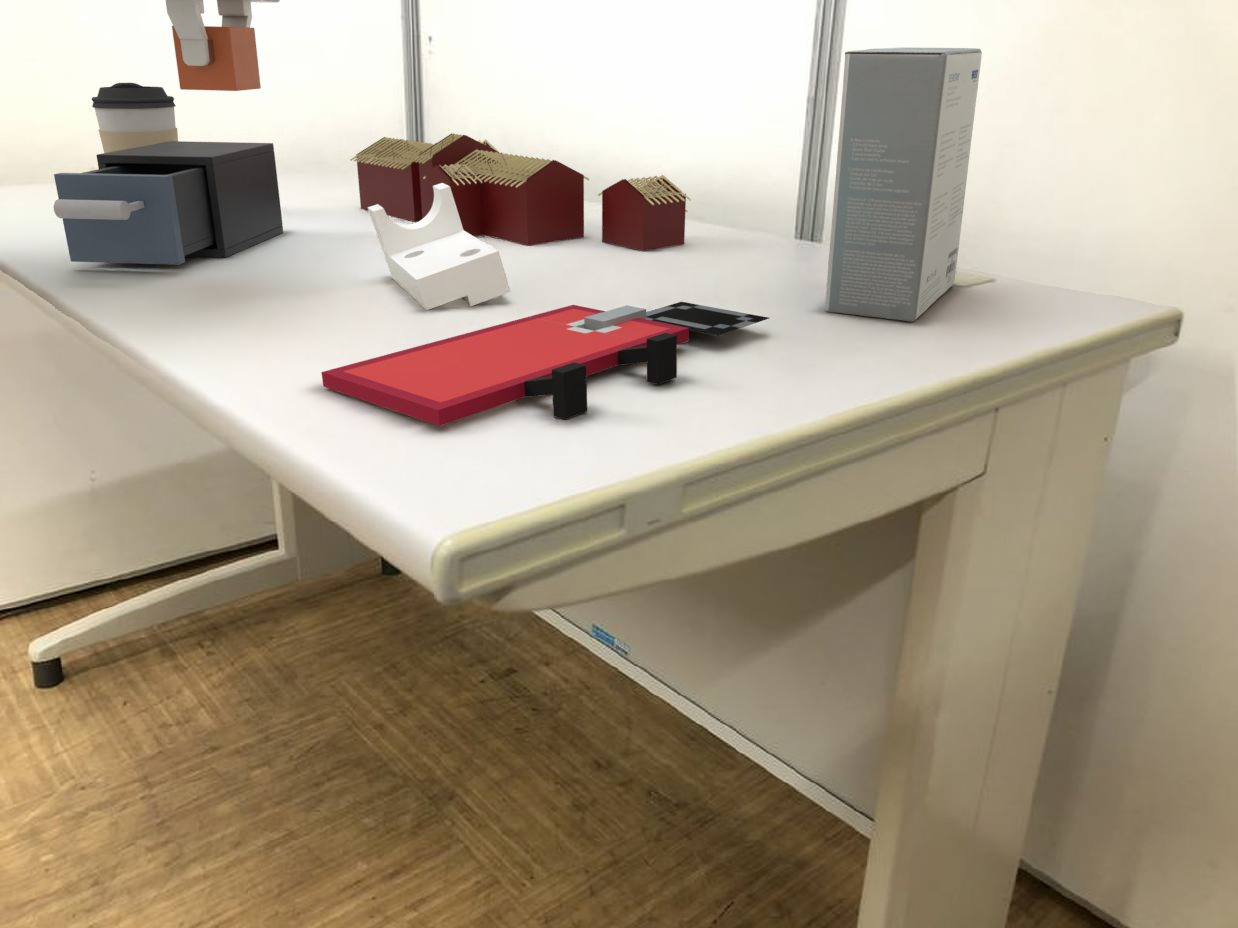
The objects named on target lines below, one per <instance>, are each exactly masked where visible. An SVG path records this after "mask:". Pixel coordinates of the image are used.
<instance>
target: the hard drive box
mask: <svg viewBox="0 0 1238 928" xmlns="http://www.w3.org/2000/svg"><path fill="white" fill-rule="evenodd" d="M982 54H983V52H982V49H981V48H975V47H972V48H971V47H970V48H969V47H905V46H904V47H883V48H867V49H858V50H847V51H845V52H844V64H843V65H844V67H843V78H842V79H843V80H842V93H841V106H840V119H839V130H838V141H837V142H838V143H837V153H836V154H837V155H836V168H835V179H834V180H835V181H834V192H833V193H834V194H833V205H832V206H833V207H832V216H831V230H830V241H829V253H828V254H829V255H828V266H827V276H826V277H827V278H826V291H825V304H824V311H825V312H828V313H836V314H844V315H853V316H854V315H855V316H863V317H870V318H880V319H888V320H897V321H902V322H903V321H904V322H915V321H916V320H918V318H919V317H921V315H923V314H924V313H925V312H926V311H927V310H928V309H929V307H931V305H933V304H934V303H935V302H936V301H937V300H938V299H939V298H941V296H943V295H944V294H945V293H946V292H948V290H949V289H950V288H951V287H952V286H953V285H954V284H955V279H956V272H957V266H958V256H959V250H960V249H959V248H960V240H961V230H962V223H963V222H962V221H963V215H964V206H965V195H966V187H967V180H968V173H969V172H968V171H969V165H970V154H971V146H972V138H973V130H974V121H975V113H976V105H977V97H978V89H979V80H980V74H981V73H980V72H981V64H982V57H983V56H982Z"/></svg>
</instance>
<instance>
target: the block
mask: <svg viewBox="0 0 1238 928" xmlns="http://www.w3.org/2000/svg"><path fill="white" fill-rule="evenodd" d="M204 27H205V30H206V34H207V37H208V39H207V40H213V47H214V56H215V62H214V64H212V65H209V66H190V65H187V64H185V62H184V61H183V56H182V48H181V41H180V39H179V37H178V35H177V33H176V31H175V28H174V26H173V25H171V31H172V37H173V38H172V39H173V45H174V54H175V62H176V67H177V76H178V84H179V89H180V90H182V91H183V90H185V91H187V90H188V91H220V92H221V91H222V92H241V91H250V90H251V91H252V90H260V89H261V78H260V67H259V59H258V49H257V40H256V29H255V27H250V28H248V27H222V26H215V25H213V26H212V25H211V26H209V25H204Z"/></svg>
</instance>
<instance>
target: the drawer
mask: <svg viewBox="0 0 1238 928" xmlns="http://www.w3.org/2000/svg"><path fill="white" fill-rule="evenodd" d="M53 176H54V177H53V178H54V182H55V187H56V188H55V189H56V194H57V198H58V199H56V200H55V201H54V203H53V212H54V214H55V216H56V217H57V218H59V219H62V223H63V228H64V229H63V230H64V234H65V239H66V243H67V249H68V255H69V259H70V262H73V263H107V264H142V265H174V266H178V265H181V264H184V263H186V258H185V257H186V256H185V255H188V254H190V253H193V252H195V251H198V250H200V249H203V248H205V247H208V246H210V245H213V244H215V243H216V236H215V229H214V222H213V215H212V208H211V200H210V193H209V186H208V179H207V172H206V165H165V164H122V165H118V166H113V167H108V168H103V169H99V168H98V169H93V170H89V171H83V172H57V173H54V174H53Z"/></svg>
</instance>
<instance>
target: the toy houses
mask: <svg viewBox="0 0 1238 928" xmlns="http://www.w3.org/2000/svg"><path fill="white" fill-rule="evenodd" d="M349 160H350V162H352V161H353V162H356V167H357V181H358V192H359V202H360V203H359V204H360V209H361V210H365V211H369V210H368V208H367V207H370V206H373V205H376V204H378V205H380V206H381V207H383V208H384V210H385V212H386V214H387V216H391V217H394V218H399V219H401V220H407V221H411V222H414V223H416V222H419V221H420V220H422V219H423V218H424V217H425V216H426V215H427V214H428V213H429V211H430V210H431V208H432V205H433V201H434V190H433V186H434V185H437V184H440V183H444V184H446V185H448V186H450V188H451V191H452V195H453V198H454V201H455V204H456V208H457V211H458V214H459V217H460V220H461V224H462V227H463V230H464V231H466V232H467V233H469V234H471V235H472V236H474V237H476V236H482V235H483V236H487V237H492V238H495V239H499V240H505V241H508V242H512V243H516V244H521V245H525V246H533V245H538V244H546V243H553V242H560V241H567V240H574V239H581V238H585V180H587V181H588V182H589V181H590V178H589V177H587V176H585V175H584V173H583V174H582V173H581V172H579V171H577V170H575V169H573V168H571V167H569V166H568V165H566V164H564V163H562V162H560V161H558V160H556V159H552V160H551V159H549V158H547V159H545V158H543V157H542V158H539V157H533V156H530V157H529V156H527V155H525V156H524V155H522V154H520V155H518V154H513V153H510V154H509V153H504V152H500V151H499V150H498V149H497V148H495V147H494V146H493V144H491V143H490V142H489V141H488V140H487V139H484V140H483V141H482V140H481V139H479V140H476V139H474V138H472V137H471V136H469V135H467V134H458V133H450V134H448V135H446V136H445V137H444V138H442V139H440V140H439V141H438V142H435V143H431V142H423V141H415V140H413V141H412V140H409V139H404V138H394V137H393V138H392V137H387V136H383V137H382V138H380V139H378V140H377V141H375V142H373V143H372V144H370V145H369V146H367V147H366V148H364V149H363V150H361V151H359V152H358V153H356V154H355V156H354V157H352V158H350V159H349ZM597 196H598V197H600V196H601V198H602V199H601V203H602V204H601V242H602V243H605V244H609V245H610V244H611V245H614V246H619V247H624V248H627V249H628V248H629V249H633V250H638V251H642V252H644V251H649V250H656V249H662V248H668V247H675V246H680V245H685V236H686V235H685V232H686V213H688V210H687V209H686V207H687V206H686V205H687V204H686V203H687V200H688V201H691V200H692V199H691V198H690V197H689V196H688V195H687V193H685V192H684V191H683V190H681V189H680V188H679V186H677V185H676V184H674V183H673V182H672V181H670V180H669V178H667V177H666V176H665V175H663V174H662V175H659V176H658V175H654V176H651V175H650V176H648V177H645V176H643V177H642V178H639V177H637V178H632V177H631V178H630V179H627V178H623V179H620V180H619V181H617V182H615V183H613V184H611V185H610V186H608V187H606V188H605V189H603V190H602V191H601V192H600V193H598V195H597Z"/></svg>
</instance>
